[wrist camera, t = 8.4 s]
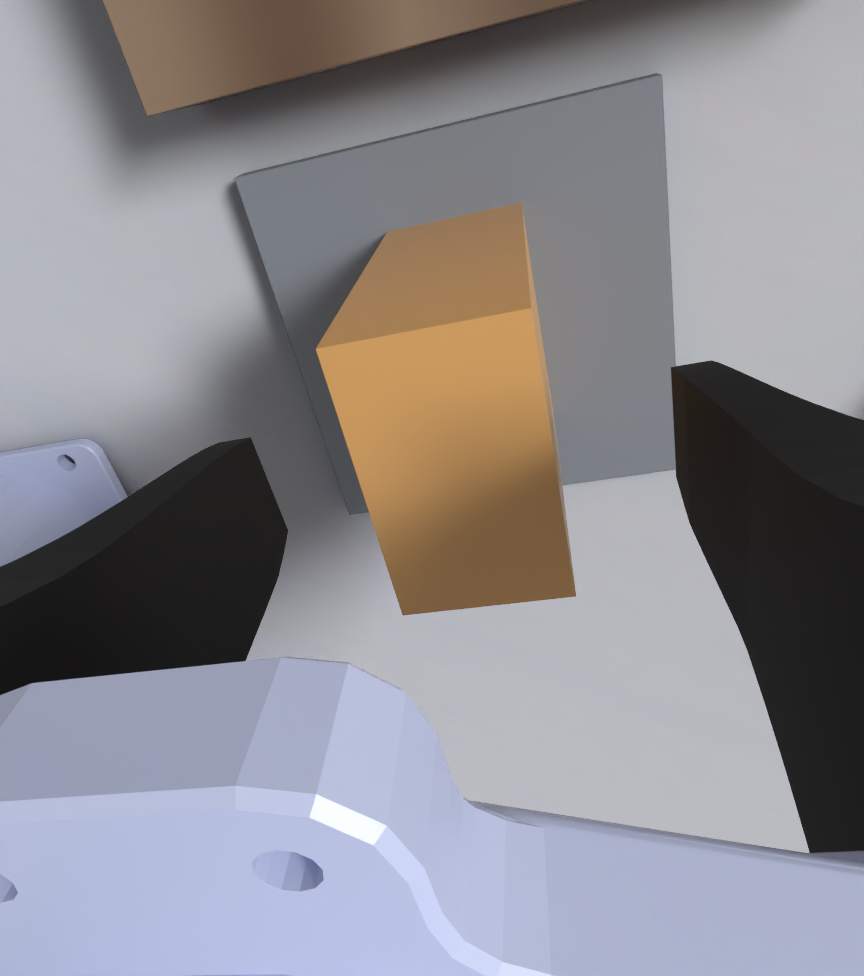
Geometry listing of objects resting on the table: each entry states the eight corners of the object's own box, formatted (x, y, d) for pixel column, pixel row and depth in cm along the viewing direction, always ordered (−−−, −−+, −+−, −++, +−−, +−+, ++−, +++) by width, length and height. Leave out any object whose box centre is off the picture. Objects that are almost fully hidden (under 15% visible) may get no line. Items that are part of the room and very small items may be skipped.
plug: (436, 428, 18) (402, 614, 12) (386, 231, 16) (316, 349, 10) (553, 409, 18) (575, 595, 12) (521, 202, 15) (531, 307, 9)
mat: (353, 502, 20) (349, 514, 20) (242, 173, 16) (234, 178, 15) (675, 457, 19) (680, 469, 18) (656, 73, 14) (662, 74, 14)
